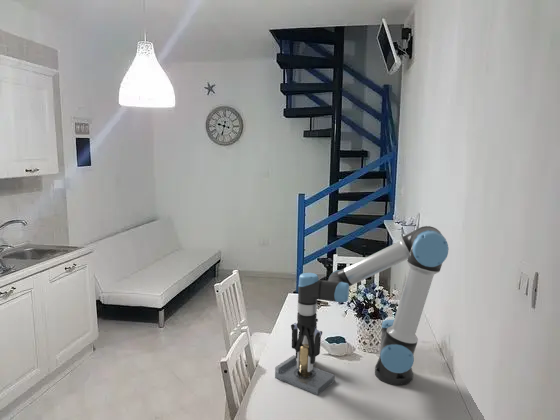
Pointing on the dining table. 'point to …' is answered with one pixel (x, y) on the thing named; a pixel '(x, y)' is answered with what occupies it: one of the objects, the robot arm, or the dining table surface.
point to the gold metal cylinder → (304, 360)
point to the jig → (312, 383)
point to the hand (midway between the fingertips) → (304, 368)
